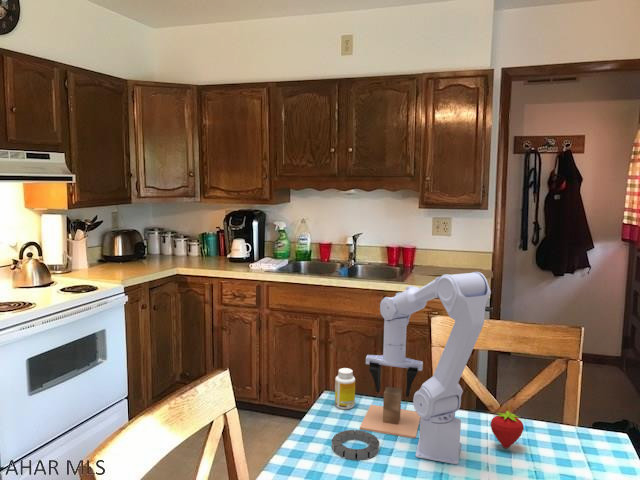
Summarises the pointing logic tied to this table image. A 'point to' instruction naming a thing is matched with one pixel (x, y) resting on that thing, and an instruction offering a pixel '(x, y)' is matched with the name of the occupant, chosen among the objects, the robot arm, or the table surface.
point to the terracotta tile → (404, 428)
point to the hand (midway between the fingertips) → (392, 393)
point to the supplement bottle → (345, 389)
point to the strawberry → (506, 428)
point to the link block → (392, 405)
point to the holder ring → (355, 453)
